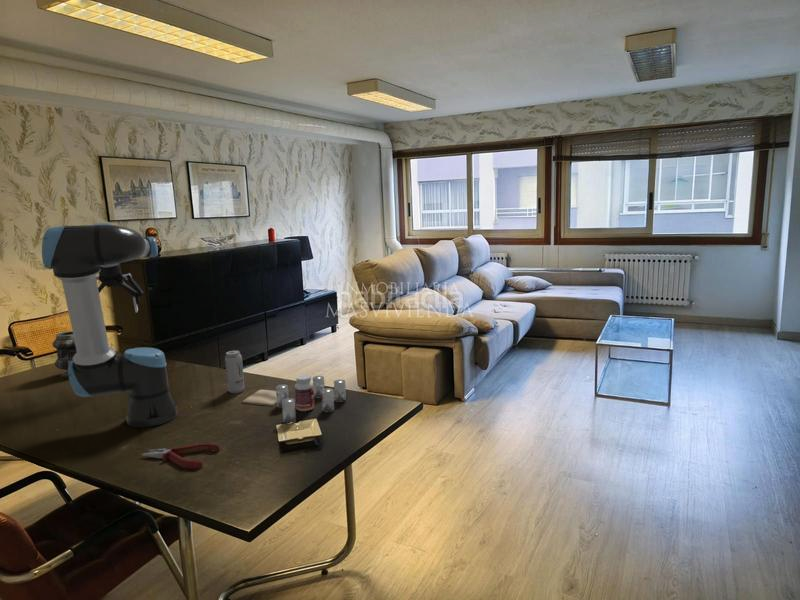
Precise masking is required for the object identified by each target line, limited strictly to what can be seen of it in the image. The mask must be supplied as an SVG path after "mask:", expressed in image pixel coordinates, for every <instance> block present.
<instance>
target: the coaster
mask: <svg viewBox="0 0 800 600" xmlns="http://www.w3.org/2000/svg"><path fill="white" fill-rule="evenodd" d="M289 394H290V391H288V395H289ZM241 404H246V405H247V404H248V405H259V406H268V407H274V405H277V398H276V390H270V389H259V390H257V391H256V392H254V393H252V394H251V395H250V396H248V397H246V398H245V399H243V400H242V401H241Z"/></svg>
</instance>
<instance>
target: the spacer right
mask: <svg viewBox="0 0 800 600" xmlns="http://www.w3.org/2000/svg"><path fill="white" fill-rule="evenodd" d="M321 393H322V398H321V406H322V408H321V410H322V411H323V410H324V411H331V410H334V409H335V397H334V388H330V387H329V388H328V387H327V388H325V389H323V390H321ZM334 411H335V410H334Z"/></svg>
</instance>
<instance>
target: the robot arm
mask: <svg viewBox="0 0 800 600" xmlns="http://www.w3.org/2000/svg"><path fill="white" fill-rule="evenodd" d="M41 242H42V243H41V258H42V264H43V266H44V268H45V269H48V270H52V271H53V276H54V277H55V278H57V279H58V280H60V281H61V284H62V288H63V293H64V298H65V302H66V308H67V311H68V316H69V320H70V325H71V329H72V330H71V331H73V336H74V340H75V345H76V350H77V353H76V354H75V355H74V356H73V361H72V362H70V363H69V366H68V370H67V371H68V374H69V378H68V379H69V383H70V386H71V388H72V390H73V392H74V393H75V395H77V396H79V397H82V398H87V397H98V396H103V395H104V396H105V395H112V394H118V393H124V392H125V393H127V392H129V402H128V408H127V413H126V415H125V417H126V424H127V425H128V426H130V427H134V428H149V427H154V426H160V425H162V424H166V423H168V422H170V421H172V420H173V419H175V418H176V417H177V416H178V407H177V405H176V404H175V402H174V400H173V396H172V395H171V393H170V387H169V378H168V371H167V365H168V364H167V361H166V356H165V353H164V352H163V351H162V350H160V349H158V348H155V347H134V348H128V349H126V350H125V351H124V353H123V355H117V353H116V350H115V349H114V348H113V347H111V346H109V345H110V344H109V340H108V335H107V329H106V324H105V319H104V314H103V309H102V308H103V307H102V303H101V298H100V297H101V296H100V293H101V292H102V291H103V290H104V288H105V287H107V288H111V287H114V288H116V287H120V288H122V289H123V290H125V291H126V292H128V293H129V295H132V300H133V306H134V311H135V313H138V311H139V307H138V305H140V301H141V300H140V297H143V295H144V290H143V289H142V287H140V285H139V284H138V283H137V282H136V280H135V279H134V278H133V276H132V274H131V272H127V274H126V273H125V274H123V273H122V268H121V264H122V263H125V262H130V261H135V260H137V259H150V258H156V257H158V255H159V247H158V242H157V239H156V237H154V236H143V235H142V234H141V233H139V232H138V231H137V230H135V229H133V228H132V229H131V228H128V227H125V226H119V225H115V224H111V223H108V222H98V223H94V224H93V223H92V224H91V225H90V224H89V225H88V224H87V225H86V224H85V225H60V226H51V227H48V228H47V229H46V230H45V232H44V234H43V236H42V241H41ZM123 279H125V280H126V281H128V282H129V284H130V285H131V286H130V285H128V284H127V283H126V282H125V281H124V280H123ZM98 281H99V282H101V283H100V284H99V286H98Z"/></svg>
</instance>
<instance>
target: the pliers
mask: <svg viewBox="0 0 800 600" xmlns="http://www.w3.org/2000/svg"><path fill="white" fill-rule="evenodd" d="M147 451H148V452H143V453H141V456H144V457H150V458H155V459H163V462H168V461H170V462H172V463H173V464H176V466H178V467H180V468H183V469H189V470H190V469H191V470H200V469H203V462H202V461H201V460H198V459H188V458H184V457H182V456H181V455H187V454H192V453H193V454H194V453H199V452H216V453H219V452H220V445H219V444H217V443H210V442H208V443H207V442H206V443H197V444H192V445H185V446H180V447H179V446H177V445H174V446H173V447H171V448H169V449H168V448H155V449H147Z"/></svg>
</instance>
